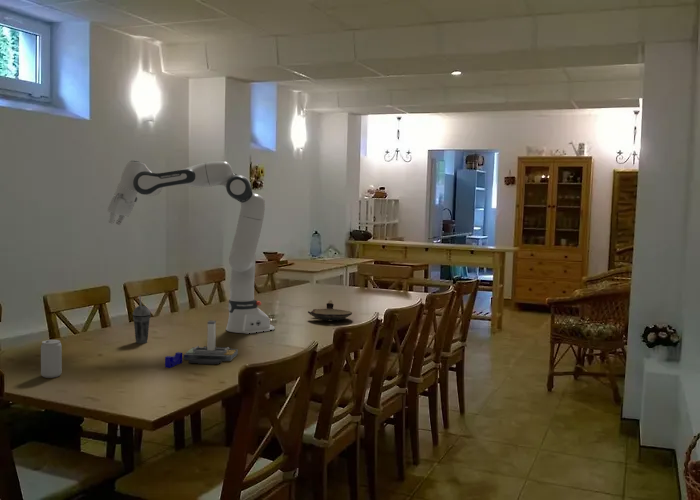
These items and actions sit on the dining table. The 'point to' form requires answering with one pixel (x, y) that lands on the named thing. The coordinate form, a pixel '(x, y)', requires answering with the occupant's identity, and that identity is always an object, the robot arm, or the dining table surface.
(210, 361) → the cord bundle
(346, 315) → the oil lamp
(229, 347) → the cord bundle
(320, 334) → the dining table surface
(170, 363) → the cable holder
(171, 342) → the dining table surface
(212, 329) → the knob
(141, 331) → the beverage cup
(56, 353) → the beverage can
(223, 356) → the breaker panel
